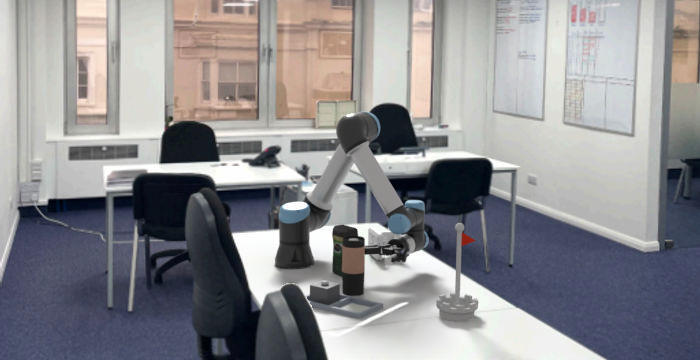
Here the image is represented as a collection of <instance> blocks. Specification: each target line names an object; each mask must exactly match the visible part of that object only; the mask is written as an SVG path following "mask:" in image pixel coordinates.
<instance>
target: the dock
mask: <svg viewBox="0 0 700 360" xmlns="http://www.w3.org/2000/svg"><path fill="white" fill-rule="evenodd" d="M305 296H306V297H307V299H308V301H309V302H310V304H311V305H312V307H311V308H313V309H318V310H322V311H326V312H329V313H334V314H338V315H342V316H347V317H350V318H355V319H359V320H362V319H363V318H365V317H367V316H369V315H372V314H373V313H376V312H379V311H380V310H382V309H384V303H382V302H378V301H375V300H369V299H365V298H360V297H358V296H348V295H344V294H343V293H340V300H339V301H337V302H335V303H332V304H330V305H325V304H321V303H317V302H313V301H310V293H309V294H305Z"/></svg>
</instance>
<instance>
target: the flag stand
mask: <svg viewBox="0 0 700 360" xmlns="http://www.w3.org/2000/svg"><path fill="white" fill-rule="evenodd" d="M454 230H455V231H456V254H455V256H456V258H455V261H456V262H455V285H454V286H455V287H454V288H455V289H454V292H450V293H449V296H447V295H446V294H444V293H442V294H440V295H438V297H436V308H437V309H438V312H439V314H438V315H439V317H440V318H442V319H444V320H447V321H453V322H467V321H471V320H474V318H475V312H476V311H477V310H478V308H479V299H478V297H473V295H470V294H467V293H466V294H464V296H461V277H462V276H461V275H462V273H461V271H462V247H463V246H465V245H468V244H470V243H473V242H476V239H474V238H472V237H471V236H469V235H467V234H465V233H464V230H465V225H464V224H463V223H462V222H458V223H456V224H455V226H454Z"/></svg>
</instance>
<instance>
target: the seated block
mask: <svg viewBox="0 0 700 360" xmlns="http://www.w3.org/2000/svg"><path fill="white" fill-rule="evenodd" d="M309 294H310V301H313V302H317V303H321V304H325V305H330V304H332V303H335V302H337V301H339V300H340V294H341V283H339V282H338V283H337V282H333V281H329V280H324V279H322V280H320V281H318V282H314V283H312V284H310V285H309Z"/></svg>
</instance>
